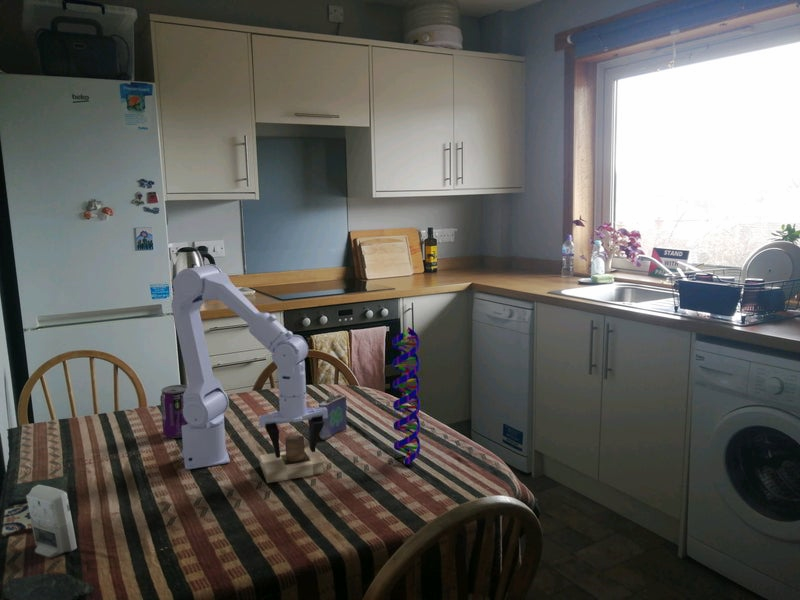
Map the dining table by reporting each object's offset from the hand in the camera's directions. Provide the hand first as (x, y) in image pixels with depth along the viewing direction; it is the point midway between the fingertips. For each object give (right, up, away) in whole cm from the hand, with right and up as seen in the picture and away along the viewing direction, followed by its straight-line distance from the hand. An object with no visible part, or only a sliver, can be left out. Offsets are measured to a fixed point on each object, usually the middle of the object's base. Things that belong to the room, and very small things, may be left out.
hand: (295, 453), depth 138 cm
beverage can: (-33, -1, +21) cm, 39 cm away
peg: (0, -4, +1) cm, 4 cm away
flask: (+6, 0, +20) cm, 21 cm away
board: (-1, -4, 0) cm, 4 cm away
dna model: (+24, -3, +4) cm, 25 cm away
